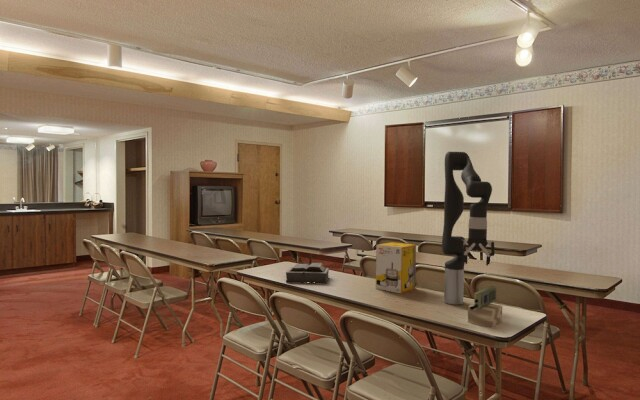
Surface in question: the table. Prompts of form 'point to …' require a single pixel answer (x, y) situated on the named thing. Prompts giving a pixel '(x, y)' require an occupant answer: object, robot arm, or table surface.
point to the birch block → (485, 315)
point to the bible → (308, 273)
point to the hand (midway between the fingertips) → (476, 264)
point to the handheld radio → (484, 297)
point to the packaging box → (395, 267)
